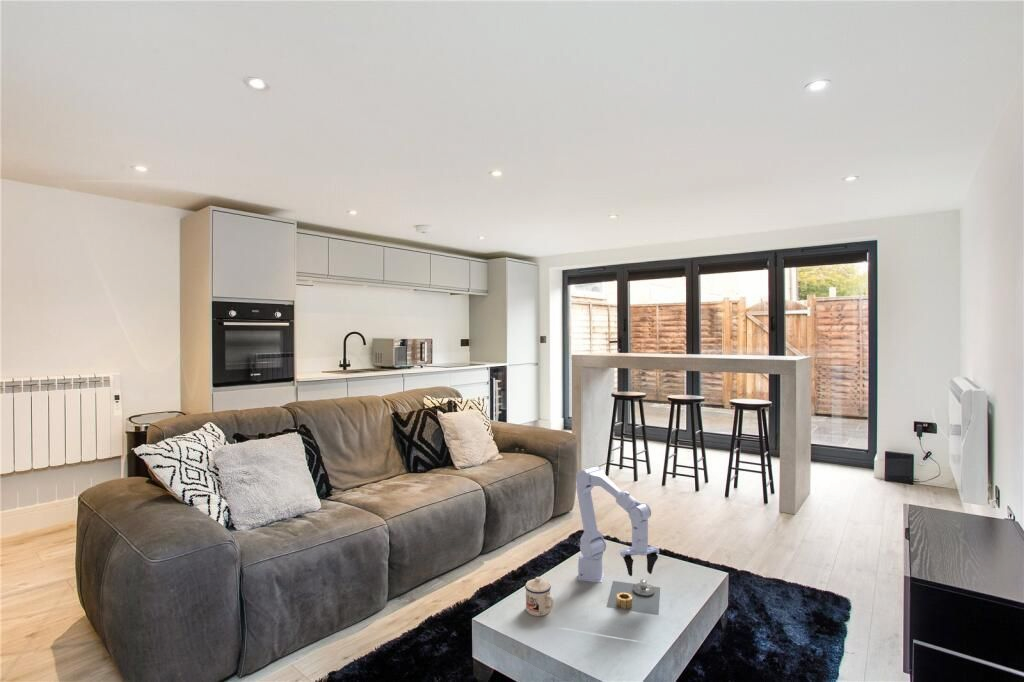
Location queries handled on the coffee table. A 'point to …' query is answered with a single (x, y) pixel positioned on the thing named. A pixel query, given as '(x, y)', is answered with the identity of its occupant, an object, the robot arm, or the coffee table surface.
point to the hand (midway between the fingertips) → (639, 573)
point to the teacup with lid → (538, 597)
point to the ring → (624, 600)
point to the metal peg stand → (643, 589)
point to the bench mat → (635, 598)
